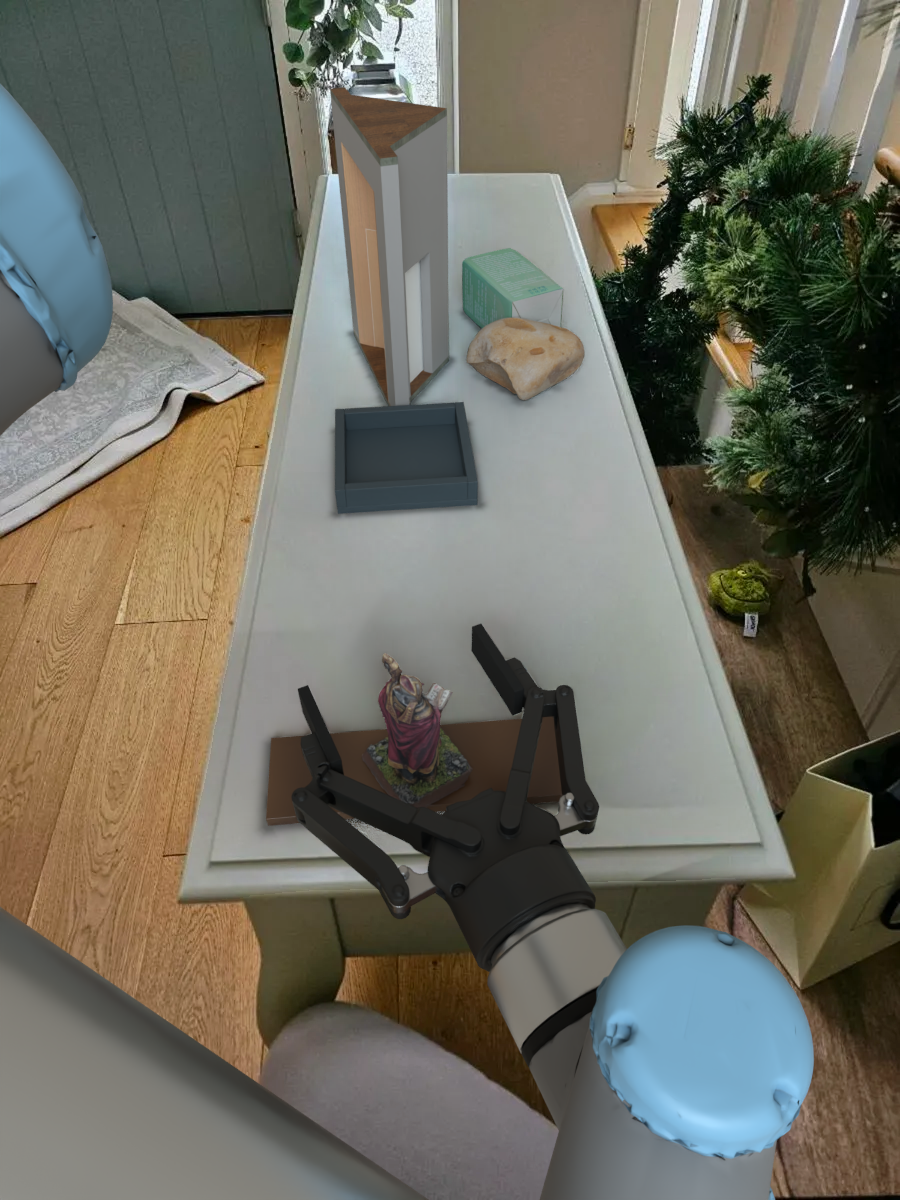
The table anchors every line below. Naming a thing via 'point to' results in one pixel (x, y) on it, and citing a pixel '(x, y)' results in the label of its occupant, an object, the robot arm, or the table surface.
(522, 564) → the table surface
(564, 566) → the table surface
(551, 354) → the stone
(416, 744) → the figurine
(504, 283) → the box
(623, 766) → the table surface
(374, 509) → the dark grey square tray
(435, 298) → the cabinet
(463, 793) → the board
